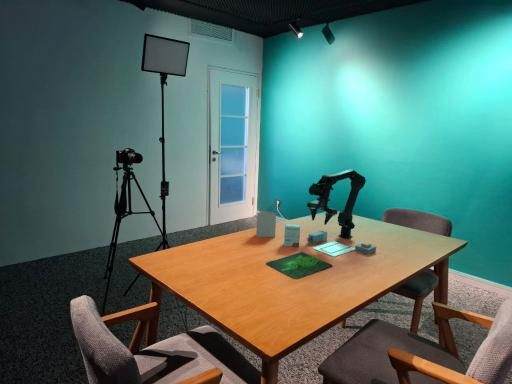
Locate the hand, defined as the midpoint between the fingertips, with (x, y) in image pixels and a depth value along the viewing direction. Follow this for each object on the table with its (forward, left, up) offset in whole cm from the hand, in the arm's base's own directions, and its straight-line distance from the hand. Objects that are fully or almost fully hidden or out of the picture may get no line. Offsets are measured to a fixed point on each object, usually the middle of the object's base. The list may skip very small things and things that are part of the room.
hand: (318, 222), depth 201 cm
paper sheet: (+1, +14, -12) cm, 18 cm away
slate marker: (-1, 0, -12) cm, 12 cm away
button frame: (-11, +26, -12) cm, 30 cm away
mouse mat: (+34, +18, -12) cm, 41 cm away
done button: (-11, +26, -10) cm, 30 cm away
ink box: (+17, -4, -12) cm, 22 cm away
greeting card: (+20, -24, -12) cm, 34 cm away
